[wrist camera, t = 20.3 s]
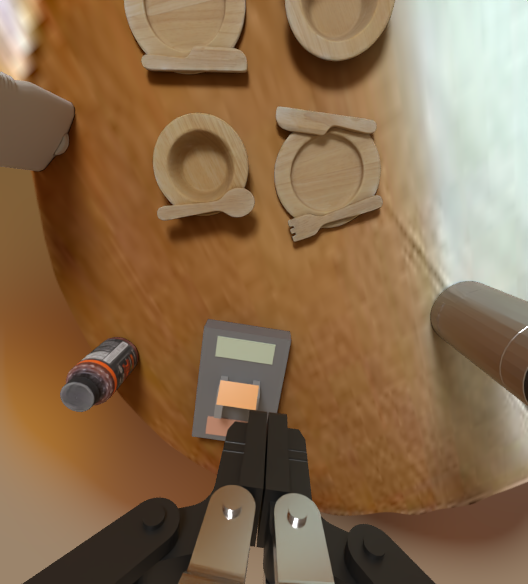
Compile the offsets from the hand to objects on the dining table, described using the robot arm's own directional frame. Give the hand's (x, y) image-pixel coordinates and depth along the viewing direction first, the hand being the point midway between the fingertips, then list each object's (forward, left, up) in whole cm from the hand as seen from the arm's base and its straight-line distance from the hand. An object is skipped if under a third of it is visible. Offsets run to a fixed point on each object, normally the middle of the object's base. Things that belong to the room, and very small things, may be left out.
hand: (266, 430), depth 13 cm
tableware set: (0, -21, -33) cm, 39 cm away
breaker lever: (+5, +18, -29) cm, 34 cm away
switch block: (+4, +17, -32) cm, 37 cm away
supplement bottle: (+22, +13, -33) cm, 42 cm away
